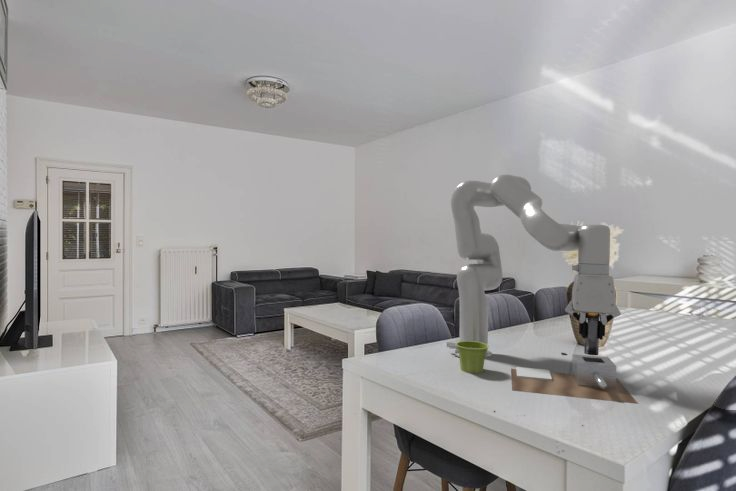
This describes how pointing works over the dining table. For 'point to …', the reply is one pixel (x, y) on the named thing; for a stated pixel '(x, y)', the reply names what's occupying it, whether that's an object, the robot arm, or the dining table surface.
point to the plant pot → (472, 355)
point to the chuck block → (594, 371)
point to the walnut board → (570, 388)
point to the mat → (533, 373)
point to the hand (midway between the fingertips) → (591, 337)
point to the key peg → (592, 334)
